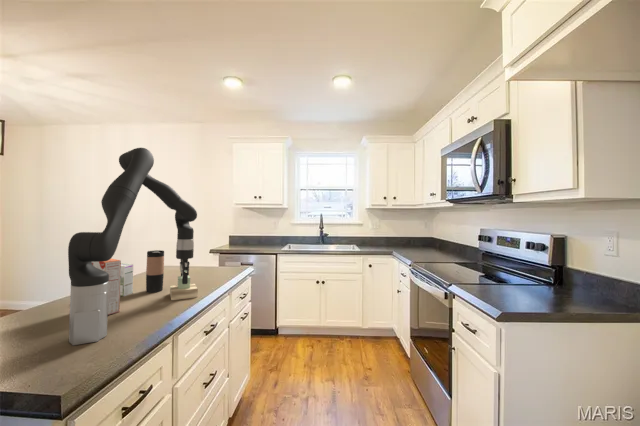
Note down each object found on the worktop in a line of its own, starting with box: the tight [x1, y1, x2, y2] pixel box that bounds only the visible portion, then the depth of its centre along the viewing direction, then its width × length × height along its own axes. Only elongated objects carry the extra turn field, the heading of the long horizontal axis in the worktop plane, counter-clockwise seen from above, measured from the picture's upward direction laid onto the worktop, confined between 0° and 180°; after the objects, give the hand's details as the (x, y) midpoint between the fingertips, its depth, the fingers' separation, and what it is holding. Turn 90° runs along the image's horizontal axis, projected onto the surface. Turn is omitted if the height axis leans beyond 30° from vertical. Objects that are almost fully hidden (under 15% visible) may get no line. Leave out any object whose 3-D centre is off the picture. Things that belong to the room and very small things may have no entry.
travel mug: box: [145, 249, 165, 294], centre depth 140 cm, size 8×8×20 cm
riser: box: [169, 283, 199, 301], centre depth 133 cm, size 11×11×4 cm
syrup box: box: [120, 263, 134, 297], centre depth 132 cm, size 6×6×14 cm
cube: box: [177, 275, 191, 289], centre depth 133 cm, size 5×5×5 cm
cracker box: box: [92, 258, 122, 316], centre depth 110 cm, size 14×6×21 cm, turn 62°
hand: (184, 281), depth 133 cm, fingers open, 8 cm apart
